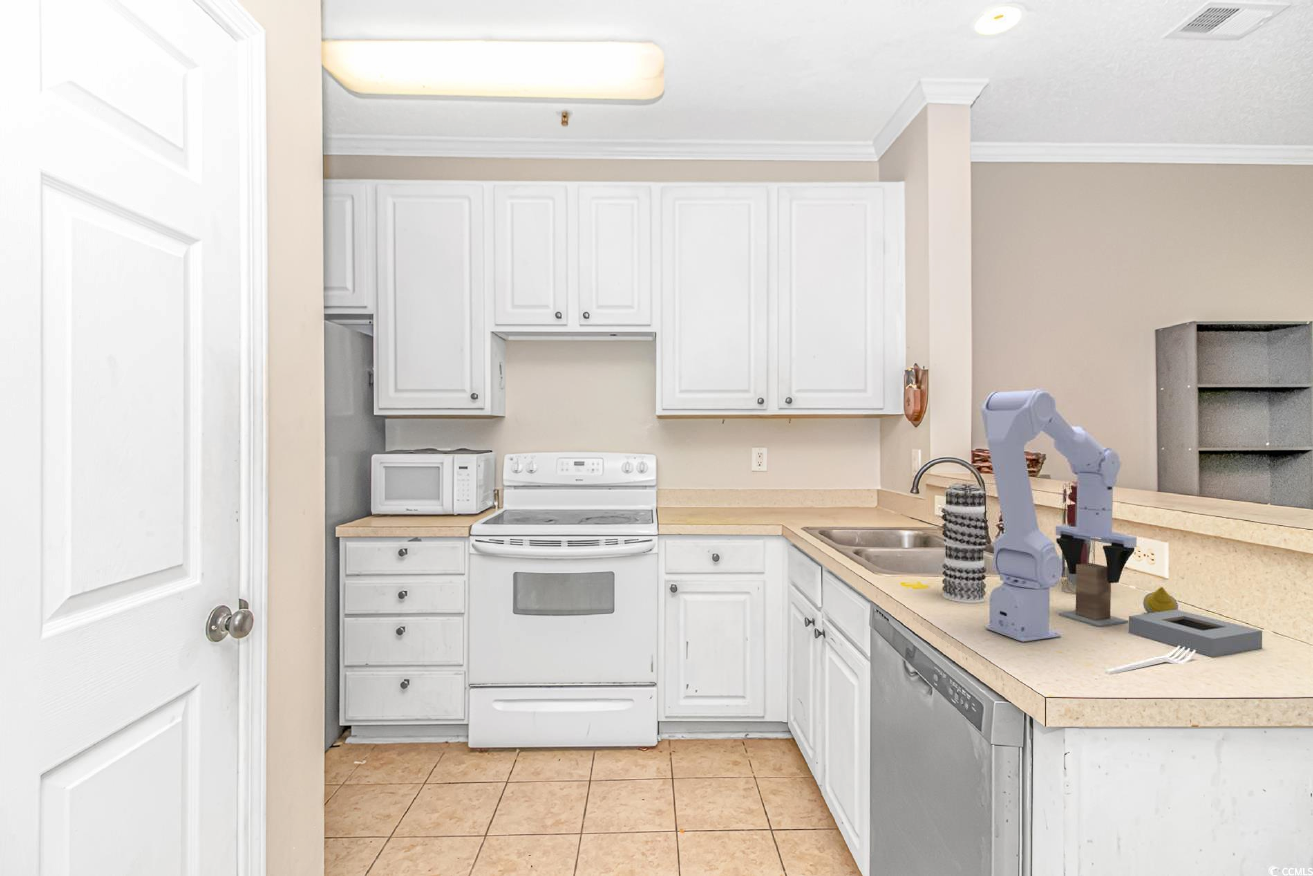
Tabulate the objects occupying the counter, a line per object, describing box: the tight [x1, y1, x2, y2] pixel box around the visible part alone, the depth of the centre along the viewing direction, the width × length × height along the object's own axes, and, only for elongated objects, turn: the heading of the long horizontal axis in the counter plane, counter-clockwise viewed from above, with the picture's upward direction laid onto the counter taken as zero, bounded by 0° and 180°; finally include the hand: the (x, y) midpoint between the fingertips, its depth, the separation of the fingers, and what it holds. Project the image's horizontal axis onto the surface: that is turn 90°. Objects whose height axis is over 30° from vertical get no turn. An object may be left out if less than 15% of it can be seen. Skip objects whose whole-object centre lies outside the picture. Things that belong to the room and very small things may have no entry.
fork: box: [1104, 646, 1196, 676], centre depth 98 cm, size 3×20×2 cm, turn 112°
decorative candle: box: [941, 482, 989, 604], centre depth 136 cm, size 9×9×25 cm
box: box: [1061, 481, 1096, 595], centre depth 142 cm, size 25×6×24 cm, turn 144°
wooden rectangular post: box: [1075, 562, 1112, 621], centre depth 121 cm, size 4×4×10 cm
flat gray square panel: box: [1058, 610, 1129, 628], centre depth 121 cm, size 8×8×1 cm
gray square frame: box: [1128, 609, 1263, 658], centre depth 109 cm, size 13×13×3 cm
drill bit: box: [1142, 586, 1179, 614], centre depth 122 cm, size 5×5×10 cm
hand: (1093, 578), depth 121 cm, fingers open, 7 cm apart
